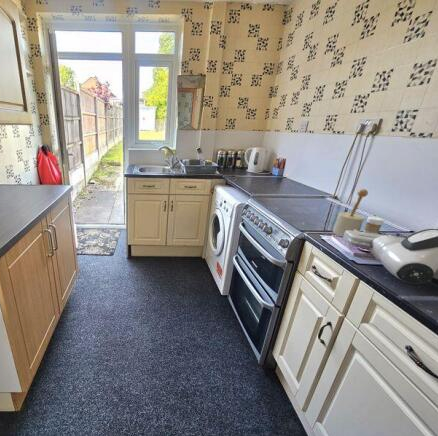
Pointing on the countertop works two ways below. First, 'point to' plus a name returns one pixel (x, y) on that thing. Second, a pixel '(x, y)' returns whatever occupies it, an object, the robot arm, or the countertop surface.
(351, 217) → the utensil crock
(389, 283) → the countertop surface
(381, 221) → the sprinkles bottle
